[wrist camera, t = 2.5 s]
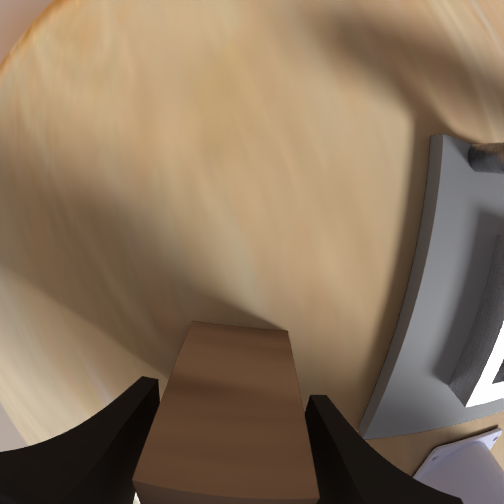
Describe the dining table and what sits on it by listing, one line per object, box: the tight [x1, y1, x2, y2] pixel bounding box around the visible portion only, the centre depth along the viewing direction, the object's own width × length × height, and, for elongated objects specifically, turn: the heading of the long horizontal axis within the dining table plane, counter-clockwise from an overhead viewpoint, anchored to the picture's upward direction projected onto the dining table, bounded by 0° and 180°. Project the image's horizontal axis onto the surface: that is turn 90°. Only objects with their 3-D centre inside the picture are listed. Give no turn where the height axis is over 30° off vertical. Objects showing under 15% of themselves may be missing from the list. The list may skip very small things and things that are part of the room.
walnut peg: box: [132, 321, 320, 504], centre depth 9 cm, size 4×4×8 cm
